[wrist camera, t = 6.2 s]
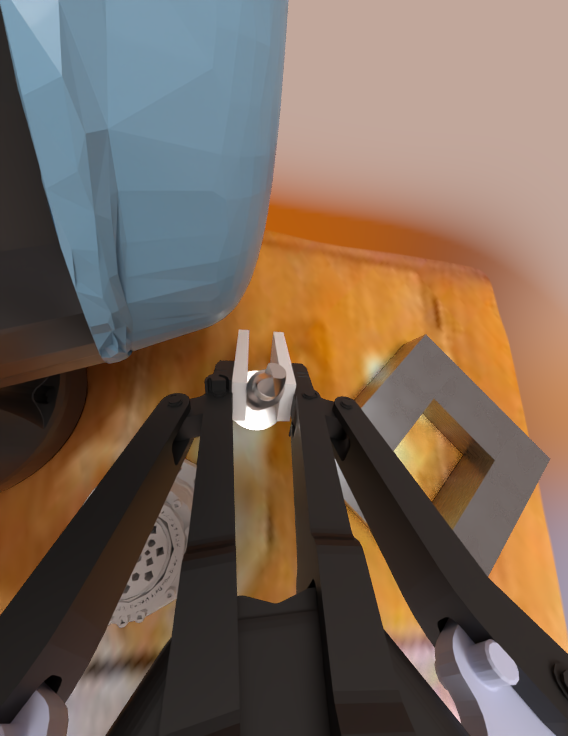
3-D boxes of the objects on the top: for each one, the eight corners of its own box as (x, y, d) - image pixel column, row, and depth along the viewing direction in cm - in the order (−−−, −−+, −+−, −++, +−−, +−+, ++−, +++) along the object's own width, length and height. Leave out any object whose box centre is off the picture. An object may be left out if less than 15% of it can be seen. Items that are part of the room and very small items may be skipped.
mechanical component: (219, 588, 18) (225, 452, 20) (211, 643, 13) (219, 462, 15) (73, 606, 16) (95, 456, 18) (10, 675, 12) (49, 469, 14)
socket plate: (302, 458, 20) (311, 465, 17) (404, 344, 25) (425, 334, 22) (430, 594, 20) (462, 624, 17) (513, 453, 24) (550, 459, 21)
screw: (233, 434, 20) (224, 379, 21) (287, 422, 21) (276, 370, 22) (214, 464, 7) (193, 323, 8) (351, 431, 8) (321, 308, 9)
